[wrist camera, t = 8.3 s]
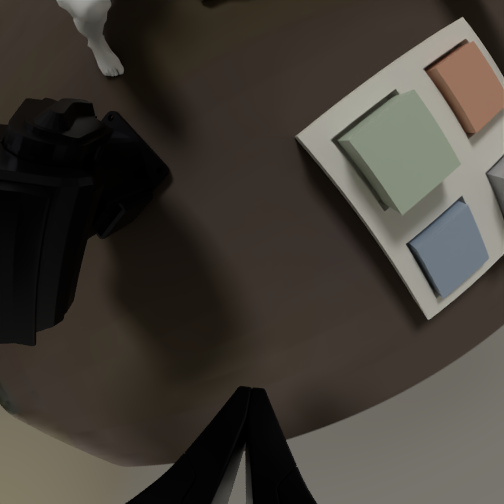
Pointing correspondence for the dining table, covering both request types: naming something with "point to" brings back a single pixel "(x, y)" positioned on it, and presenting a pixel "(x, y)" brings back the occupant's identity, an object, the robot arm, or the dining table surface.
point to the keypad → (443, 195)
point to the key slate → (449, 249)
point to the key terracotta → (468, 86)
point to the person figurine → (94, 31)
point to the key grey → (498, 182)
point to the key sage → (401, 151)
